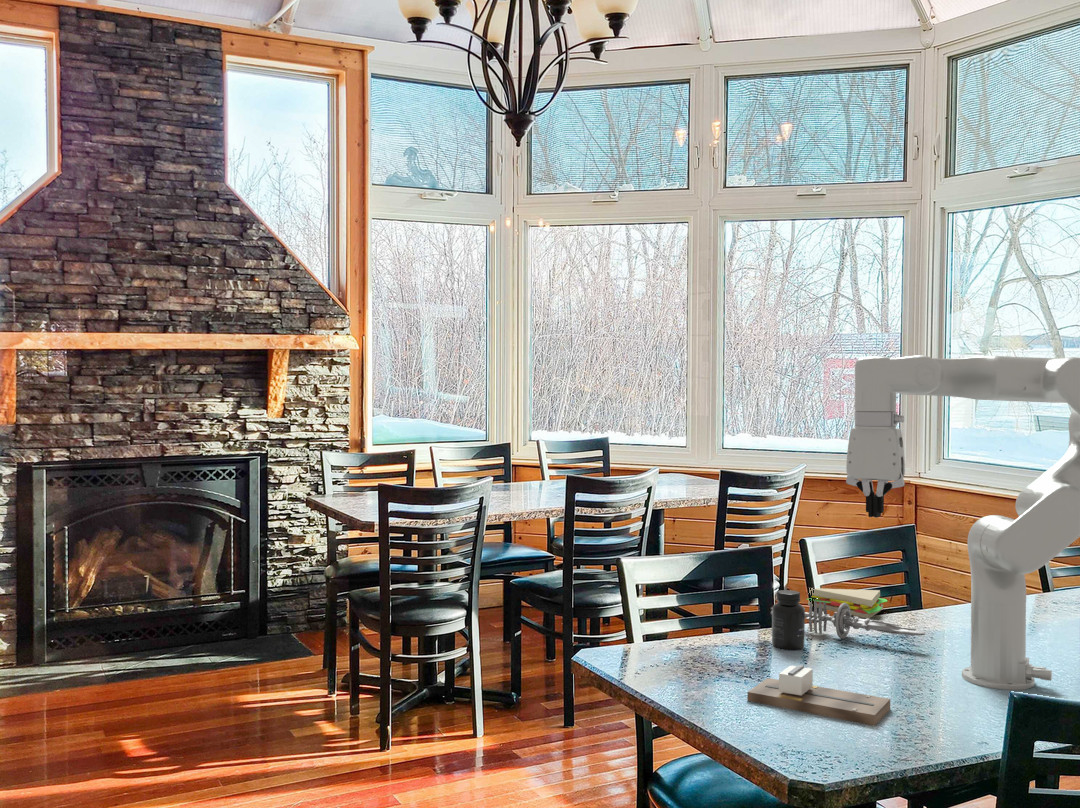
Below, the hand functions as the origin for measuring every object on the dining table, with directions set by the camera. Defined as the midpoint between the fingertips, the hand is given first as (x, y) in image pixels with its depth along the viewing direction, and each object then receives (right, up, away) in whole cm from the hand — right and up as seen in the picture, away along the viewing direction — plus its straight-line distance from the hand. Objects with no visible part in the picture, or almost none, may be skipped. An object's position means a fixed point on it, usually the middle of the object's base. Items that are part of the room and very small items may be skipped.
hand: (874, 516), depth 186 cm
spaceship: (+4, -31, +30) cm, 43 cm away
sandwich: (+13, -31, +58) cm, 67 cm away
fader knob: (-19, -29, -15) cm, 38 cm away
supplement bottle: (-11, -31, +22) cm, 40 cm away
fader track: (-16, -31, -17) cm, 39 cm away
